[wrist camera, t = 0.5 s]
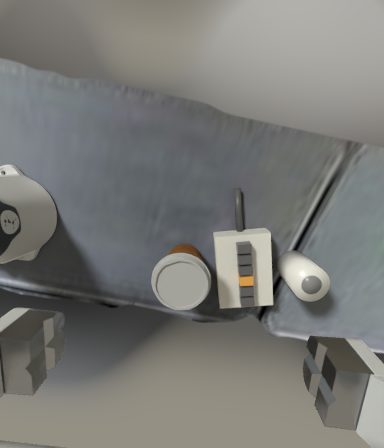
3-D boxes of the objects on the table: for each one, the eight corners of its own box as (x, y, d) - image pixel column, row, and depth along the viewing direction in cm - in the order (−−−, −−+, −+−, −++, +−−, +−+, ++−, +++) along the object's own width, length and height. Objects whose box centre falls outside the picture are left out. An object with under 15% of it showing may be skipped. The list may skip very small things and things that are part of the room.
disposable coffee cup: (213, 240, 51) (217, 261, 39) (204, 285, 53) (204, 318, 41) (165, 231, 51) (154, 250, 39) (157, 276, 53) (145, 307, 41)
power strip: (218, 298, 53) (220, 314, 47) (209, 191, 49) (211, 193, 43) (267, 294, 53) (276, 310, 47) (263, 186, 48) (272, 188, 43)
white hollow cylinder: (277, 280, 52) (293, 303, 43) (276, 251, 51) (292, 269, 42) (307, 278, 52) (330, 300, 43) (307, 249, 51) (330, 266, 42)
